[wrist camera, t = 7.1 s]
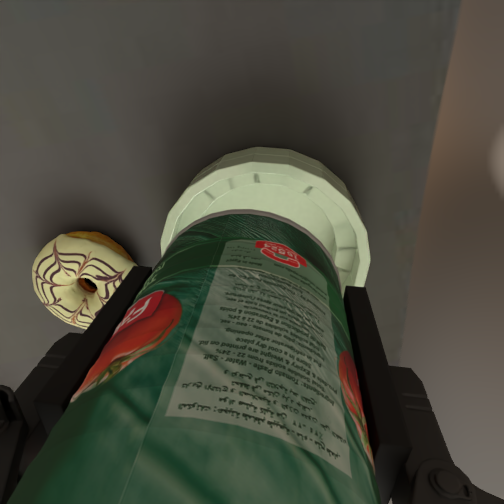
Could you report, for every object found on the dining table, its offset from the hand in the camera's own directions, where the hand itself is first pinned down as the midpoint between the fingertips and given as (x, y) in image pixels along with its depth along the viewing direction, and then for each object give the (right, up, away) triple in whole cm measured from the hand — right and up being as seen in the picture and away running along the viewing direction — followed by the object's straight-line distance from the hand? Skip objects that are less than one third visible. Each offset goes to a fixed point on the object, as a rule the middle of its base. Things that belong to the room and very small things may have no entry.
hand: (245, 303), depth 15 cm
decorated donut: (-16, 0, +22) cm, 27 cm away
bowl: (+2, +4, +18) cm, 19 cm away
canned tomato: (0, 0, +1) cm, 1 cm away
